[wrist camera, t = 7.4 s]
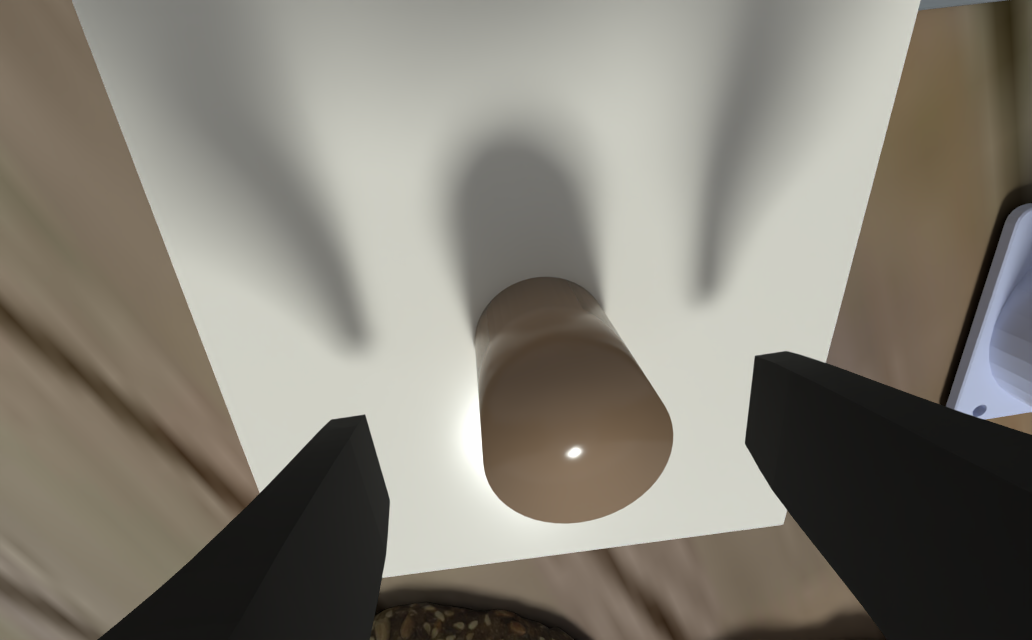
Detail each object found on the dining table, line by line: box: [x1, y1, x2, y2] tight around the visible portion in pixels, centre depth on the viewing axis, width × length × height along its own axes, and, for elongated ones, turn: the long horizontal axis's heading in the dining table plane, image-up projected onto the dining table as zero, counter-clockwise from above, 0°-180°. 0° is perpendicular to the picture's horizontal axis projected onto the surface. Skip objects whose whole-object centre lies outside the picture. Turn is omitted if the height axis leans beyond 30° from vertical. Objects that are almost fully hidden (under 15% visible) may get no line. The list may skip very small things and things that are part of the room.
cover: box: [72, 0, 921, 578], centre depth 11 cm, size 14×14×7 cm
